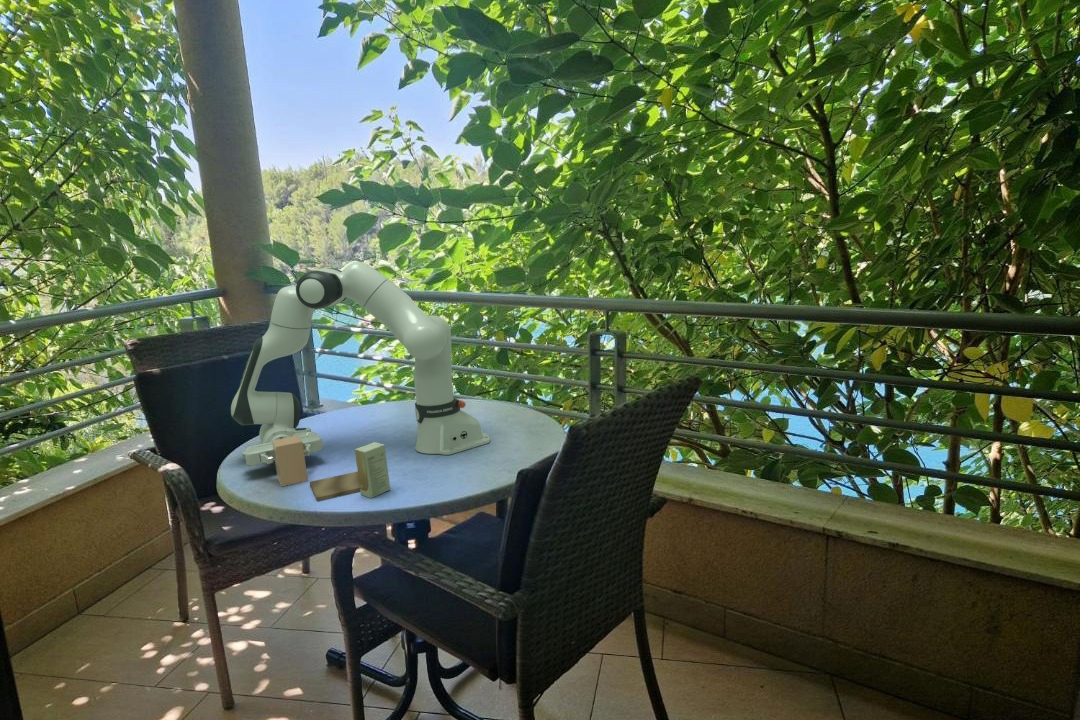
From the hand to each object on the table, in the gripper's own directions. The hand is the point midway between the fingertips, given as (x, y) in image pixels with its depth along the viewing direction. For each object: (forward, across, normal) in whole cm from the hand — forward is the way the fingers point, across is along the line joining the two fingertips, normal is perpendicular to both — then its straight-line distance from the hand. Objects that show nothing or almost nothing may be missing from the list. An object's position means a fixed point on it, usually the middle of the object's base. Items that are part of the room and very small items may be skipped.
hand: (288, 456), depth 168 cm
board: (+16, +9, +6) cm, 19 cm away
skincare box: (+25, +16, +6) cm, 30 cm away
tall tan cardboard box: (+2, 0, +6) cm, 6 cm away
